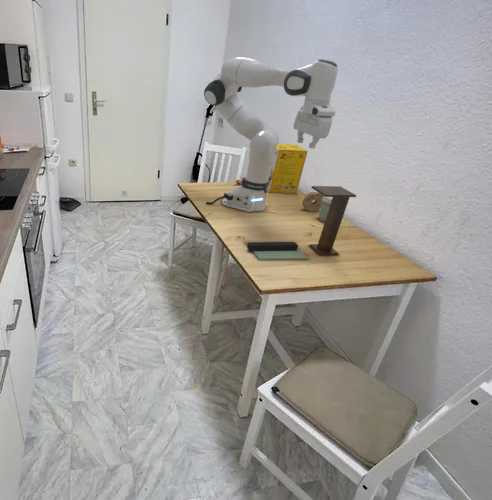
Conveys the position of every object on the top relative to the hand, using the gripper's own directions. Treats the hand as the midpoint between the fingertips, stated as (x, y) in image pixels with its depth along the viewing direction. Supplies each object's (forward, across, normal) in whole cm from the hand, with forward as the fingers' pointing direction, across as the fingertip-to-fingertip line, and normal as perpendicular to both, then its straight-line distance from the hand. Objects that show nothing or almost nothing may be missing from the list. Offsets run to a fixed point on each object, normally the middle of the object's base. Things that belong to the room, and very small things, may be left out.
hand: (305, 145), depth 143 cm
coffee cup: (+39, -15, +30) cm, 51 cm away
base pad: (+39, +16, -10) cm, 44 cm away
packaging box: (+39, -63, +27) cm, 79 cm away
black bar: (+38, +16, -12) cm, 43 cm away
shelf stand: (+39, +16, +7) cm, 43 cm away
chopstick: (+39, -64, +5) cm, 75 cm away
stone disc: (+39, -28, +29) cm, 56 cm away
